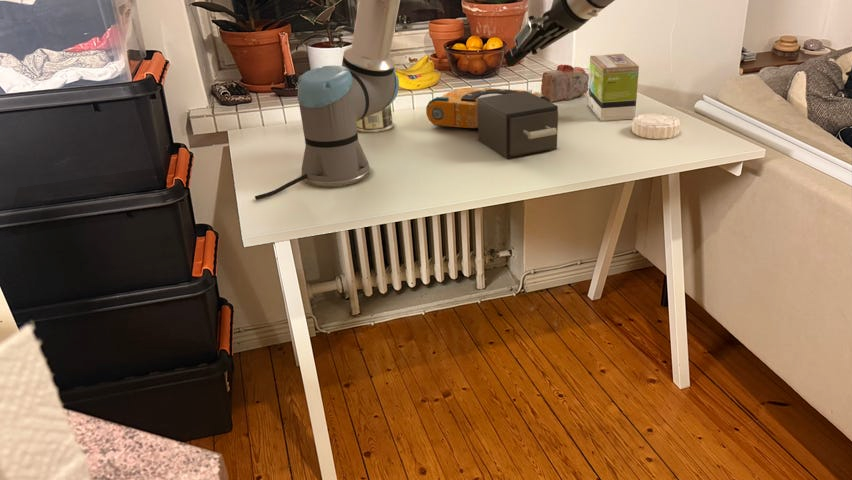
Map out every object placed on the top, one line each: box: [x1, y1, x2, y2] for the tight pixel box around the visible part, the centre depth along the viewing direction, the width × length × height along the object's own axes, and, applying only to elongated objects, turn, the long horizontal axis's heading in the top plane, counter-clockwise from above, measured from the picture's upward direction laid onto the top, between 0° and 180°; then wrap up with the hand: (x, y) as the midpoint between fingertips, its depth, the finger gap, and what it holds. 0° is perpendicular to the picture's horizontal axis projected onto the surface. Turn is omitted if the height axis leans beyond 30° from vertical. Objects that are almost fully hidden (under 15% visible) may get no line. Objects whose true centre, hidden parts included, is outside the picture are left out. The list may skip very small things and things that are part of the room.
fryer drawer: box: [509, 110, 559, 156], centre depth 170 cm, size 19×13×9 cm, turn 26°
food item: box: [540, 63, 589, 103], centre depth 210 cm, size 14×8×10 cm, turn 121°
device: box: [425, 87, 551, 129], centre depth 191 cm, size 23×8×30 cm
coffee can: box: [356, 103, 394, 133], centre depth 188 cm, size 10×10×14 cm
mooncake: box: [631, 112, 681, 140], centre depth 181 cm, size 12×12×4 cm
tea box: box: [587, 53, 640, 122], centre depth 194 cm, size 15×10×15 cm, turn 6°
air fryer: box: [477, 90, 559, 159], centre depth 173 cm, size 16×14×11 cm
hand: (508, 60), depth 152 cm, fingers closed
